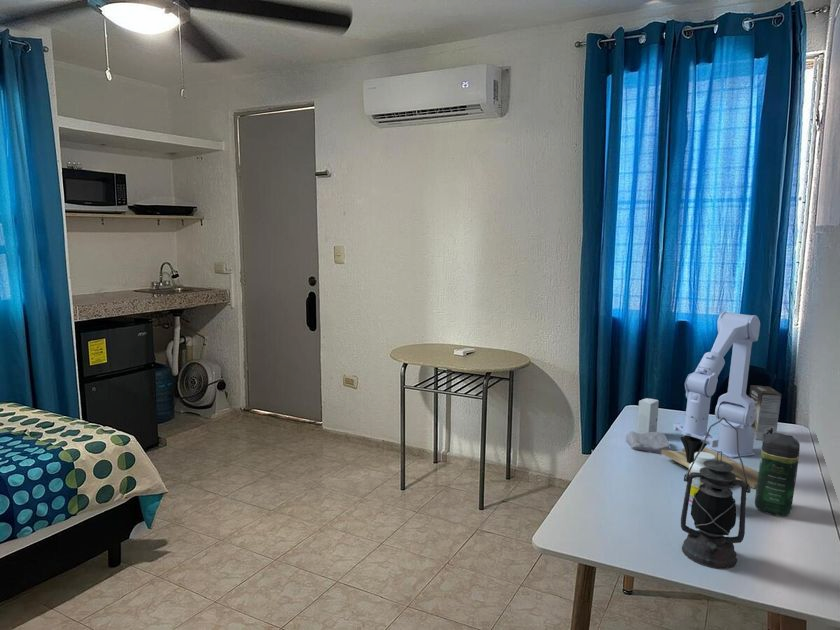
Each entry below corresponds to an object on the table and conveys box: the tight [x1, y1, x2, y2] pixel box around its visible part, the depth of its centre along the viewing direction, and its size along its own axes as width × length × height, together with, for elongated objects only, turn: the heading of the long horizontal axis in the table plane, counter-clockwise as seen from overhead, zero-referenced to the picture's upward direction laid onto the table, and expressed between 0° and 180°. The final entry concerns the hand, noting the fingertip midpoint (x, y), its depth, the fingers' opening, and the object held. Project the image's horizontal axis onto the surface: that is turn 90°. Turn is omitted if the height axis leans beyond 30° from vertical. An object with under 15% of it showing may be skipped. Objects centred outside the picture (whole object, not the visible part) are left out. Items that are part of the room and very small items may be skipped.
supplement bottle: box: [688, 452, 715, 506], centre depth 148 cm, size 7×7×13 cm
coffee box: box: [748, 384, 782, 441], centre depth 199 cm, size 9×6×16 cm
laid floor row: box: [681, 446, 759, 489], centre depth 172 cm, size 8×26×1 cm, turn 19°
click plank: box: [660, 449, 743, 481], centre depth 169 cm, size 10×20×1 cm, turn 20°
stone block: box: [625, 431, 671, 454], centre depth 186 cm, size 12×5×10 cm
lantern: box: [680, 418, 752, 570], centre depth 124 cm, size 12×11×30 cm
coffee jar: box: [754, 432, 801, 517], centre depth 146 cm, size 10×8×19 cm
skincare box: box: [636, 397, 660, 434], centre depth 196 cm, size 6×4×12 cm
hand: (691, 462), depth 167 cm, fingers closed, pressing on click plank
